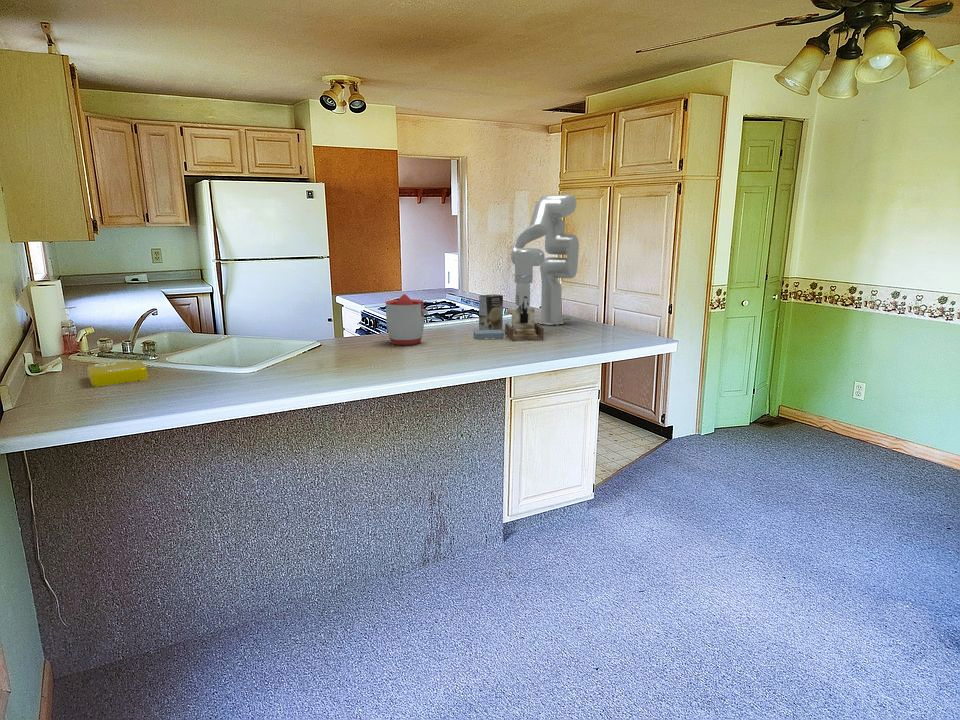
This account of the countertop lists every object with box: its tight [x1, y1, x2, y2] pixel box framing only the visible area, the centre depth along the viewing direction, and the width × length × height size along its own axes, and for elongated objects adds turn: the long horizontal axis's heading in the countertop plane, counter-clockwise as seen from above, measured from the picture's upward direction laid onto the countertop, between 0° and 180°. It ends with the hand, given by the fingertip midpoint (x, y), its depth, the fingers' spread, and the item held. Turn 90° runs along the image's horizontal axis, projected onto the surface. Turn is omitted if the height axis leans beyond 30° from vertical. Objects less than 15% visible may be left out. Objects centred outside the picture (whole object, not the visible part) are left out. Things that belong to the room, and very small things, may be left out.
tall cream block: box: [511, 307, 536, 334], centre depth 255 cm, size 9×4×12 cm, turn 96°
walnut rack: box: [504, 322, 545, 341], centre depth 253 cm, size 14×14×5 cm
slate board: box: [473, 329, 505, 340], centre depth 254 cm, size 12×8×2 cm, turn 96°
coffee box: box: [478, 293, 504, 331], centre depth 268 cm, size 9×6×16 cm
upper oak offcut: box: [515, 329, 536, 336], centre depth 250 cm, size 8×4×2 cm, turn 96°
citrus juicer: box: [384, 293, 430, 346], centre depth 241 cm, size 16×17×20 cm
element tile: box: [86, 359, 149, 387], centre depth 188 cm, size 15×15×5 cm
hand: (522, 321), depth 255 cm, fingers closed on tall cream block, 4 cm apart
